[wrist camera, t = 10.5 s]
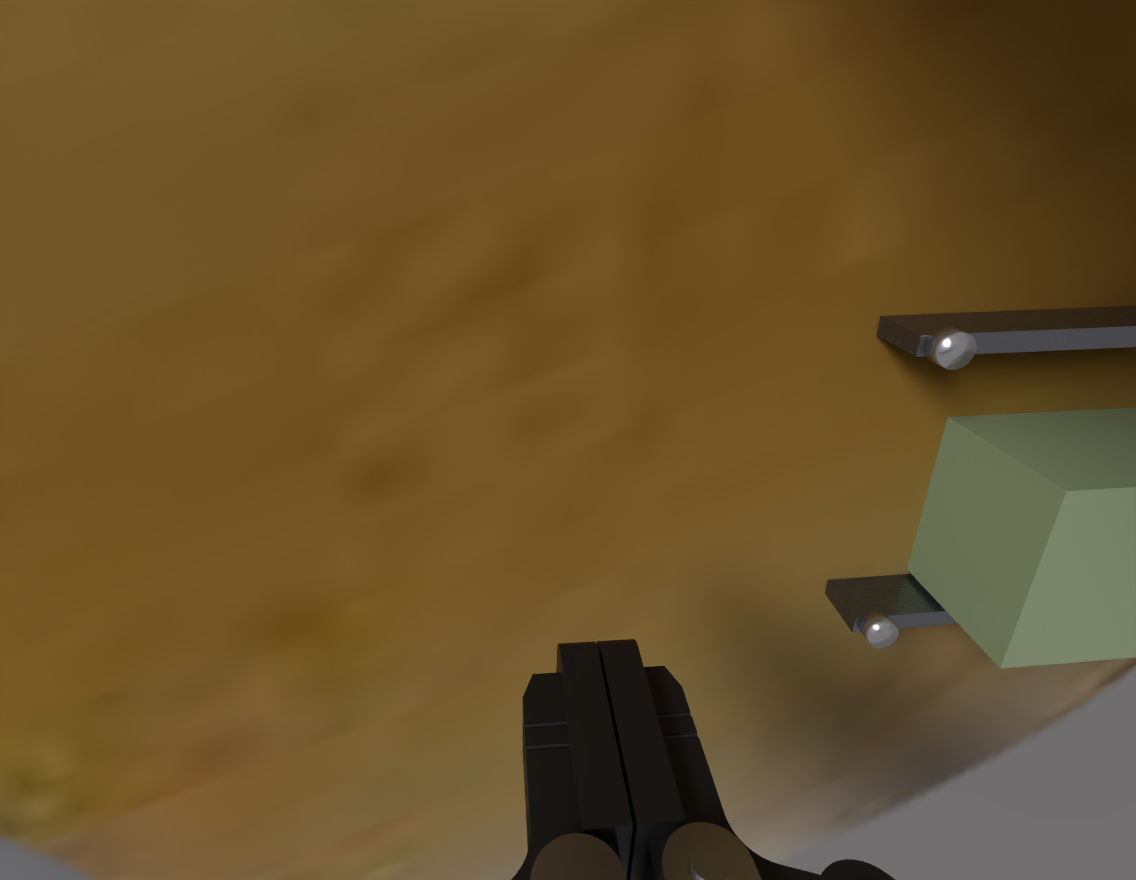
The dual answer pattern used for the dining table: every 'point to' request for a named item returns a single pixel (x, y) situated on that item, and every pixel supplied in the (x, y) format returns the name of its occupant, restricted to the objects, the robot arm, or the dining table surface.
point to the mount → (952, 346)
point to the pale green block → (1035, 534)
